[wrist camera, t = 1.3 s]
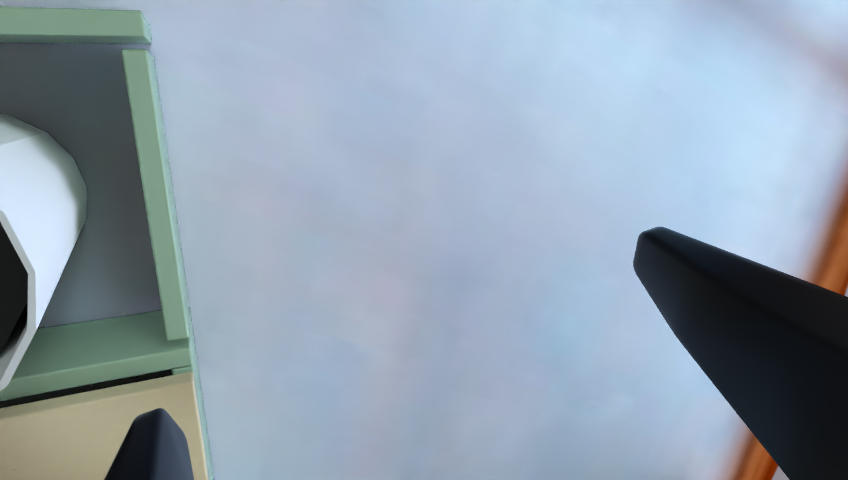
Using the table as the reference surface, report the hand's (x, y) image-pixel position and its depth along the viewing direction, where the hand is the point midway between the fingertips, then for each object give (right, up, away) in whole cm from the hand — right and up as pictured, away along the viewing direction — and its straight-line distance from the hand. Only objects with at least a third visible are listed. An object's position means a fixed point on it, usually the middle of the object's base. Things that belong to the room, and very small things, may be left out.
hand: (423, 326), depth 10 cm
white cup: (-15, +3, +9) cm, 18 cm away
